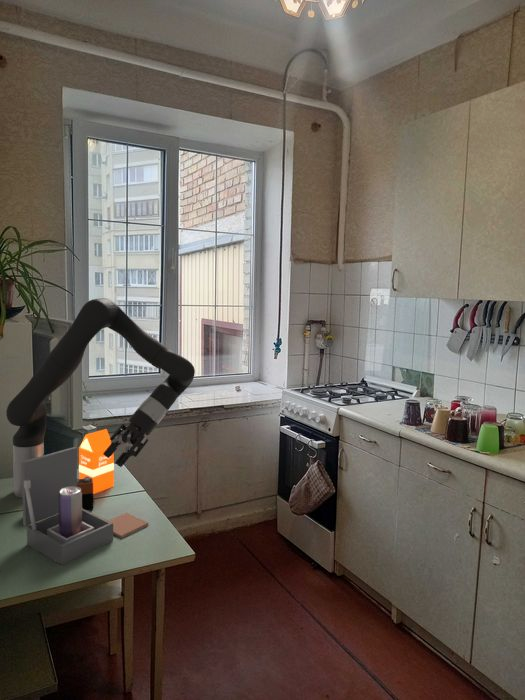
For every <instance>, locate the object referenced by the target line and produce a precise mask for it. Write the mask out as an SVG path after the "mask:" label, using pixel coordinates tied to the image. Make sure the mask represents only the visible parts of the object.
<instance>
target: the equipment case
mask: <svg viewBox="0 0 525 700" xmlns="http://www.w3.org/2000/svg"><path fill="white" fill-rule="evenodd" d="M77 449H78V448H77V447H76V446H73V447H69V448H65V449H62V450H58V451H55V452H52V453H48V454H47V453H46V454H44V456H40V457H36V458H33V459H29V460H26V461H22V494H23V498H22V524H23V526H25V527H26V541H27V542H26V543H27V545H28V546H30V547H32V548H33V549H35V550H37V551H38V552H39V553H41V554H43V555H45V556H46V557H48V558H50V559H51V560H53V561H54V562H56V563H58V564H59V565H61V566H63V565H65V564H67V563H69V562H71V561H73V560H75V559H76V558H79V557H81V556H83V555H85V554H87V553H89V552H92V551H93V550H95V549H98V548H100V547H102V546H104V545H107V544H108V543H110V542H112V541H114V534H113V523H112V522H110V521H108V520H107V519H106V518H103V517H101V516H99V515H97V514H95V513H93V512H92V511H90V510H85V509H83V508H82V532H80V533H78V534H75V535H73V536H71V537H69V538H65V537H63V536H61V535H60V534H59V491H60V490H61V489H63V488H66V487H72V486H74V487H77V479H78V456H77V455H78V450H77Z"/></svg>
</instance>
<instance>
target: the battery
mask: <svg viewBox="0 0 525 700" xmlns="http://www.w3.org/2000/svg"><path fill="white" fill-rule="evenodd" d="M77 487H79V488H81V492H82V508H83V509H85V510H87V511H92V510H93V509H94V494H93V479H92V478H90V477H84V479H79V478H77Z"/></svg>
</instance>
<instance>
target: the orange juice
mask: <svg viewBox="0 0 525 700" xmlns="http://www.w3.org/2000/svg"><path fill="white" fill-rule="evenodd" d="M110 438H111V436H110V434H109V432H108V429H107V428H105V429H101V430H97V431H95V432H94V431H93V432H91V433H86V434H85V436H84V438H83V439H82V442H81V444H80V445H79V447H78V475H79V476H78V479H84V477H90V478H92V479H93V495H94V494H97V493H99V492H103V491H104V490H107V489H110V488H113V487H114V485H115V476H114V473H115V471H114V470H115V458H114V457H115V456H114V454H115V452H114V453H113V454H112V455H111V457H110V458H107V457H106V456H105V455H104V454H103V453H104V452H105V450H106V449H107V448H108V447H109V446H110V444H111V440H110Z"/></svg>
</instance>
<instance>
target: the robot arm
mask: <svg viewBox="0 0 525 700" xmlns="http://www.w3.org/2000/svg"><path fill="white" fill-rule="evenodd" d="M105 328H108V329H110V330H111V331H114V332H116V333H117V334H118V335H120V336H121V337H122V338H123V339H125V340H126V342H127V343H128V345H130V346H131V348H132V349H133V350H134V352H135V353H136V354H138V356H140V357H141V358H142V359H143V360H145V361H146V362H147V363H149V364H150V365H152V367H154V368H156V369H158V370H162V371H164V372H165V373H166V374H168V376H167V377H166V378H165V380H164V381H163V382H162V383H160V384H158V386H156V387H155V389H154V390H153V391H152V392H151V393H150V395H149V396H148V397H147V398H146V399H145V400H144V401H143V402H142V403H140V405H139V406H138V408H137V409H136V410H135V411H134V412H133V414H132V415H131V416H130V418H129V419H128V422H129V424H128V426H127V425H126V424H125V423H123V424H121V425H120V426H119V427H118V428H117V430H115V431H114V433H113V434H112V435H111V436H110V440H111V444H110V446H109V447H108V448H107V449H106V450H105V452H104V453H103V454H104V455H105V456H106V457H107V458H110V457H111V455H112V454H113V453H114V454H115V452H116V450H117V449H118V448H119V447H121V446H124V445H125V449H124V451H123V452H122V453H121V454H120V456H119V457H118V458H117V459H116V460H115V461H114V464H115V465H116V466H118V467H119V468H122V467H123V466H124V465H125V464H126V462H128V460H129V458H132V457H137V456H138V455H139V453H140V452H141V451H142V450H143V448H144V447H145V446H146V444H147V443H148V442H149V439H148V438H147V437H146V436H149V435H151V434H152V432H153V431H154V430H155V428H156V427H157V426H158V425H159V423H160V422H161V421H162V419H163V418H164V417H165V415H166V414H167V412H168V411H169V410H170V409H171V407H172V406H173V405H174V404H175V402H176V401H177V399H178V398H179V397H180V395H182V393H184V392H185V391H186V390H187V389H188V388H189V386H190V385H191V384H192V383H193V380H194V378H195V373H196V370H195V367H194V365H193V363H191V362H190V360H188V359H187V358H185V357H183V356H182V355H180V354H178V353H176V352H174V351H173V350H170V348H168V346H165V345H164V343H161V342H160V341H159V340H158V339H156V338H155V337H153V336H152V335H151V334H149V333H148V332H147V331H145V330H144V329H143V328H142V327H140V325H138V324H137V323H136V321H134V320H133V319H132V318H131V317H130V316H129V315H128V314H127V313H126V312H125V311H124V310H123V309H122V308H121V307H120V306H119V305H118V304H117V303H116V302H115V301H114V300H112V299H110V298H107V297H106V298H105V297H100V298H93V299H91V300H88V301H87V302H86V303H84V304H83V305H82V308H80V311H79V312H78V314H77V316H76V317H75V319H74V321H73V323H72V324H71V326H70V327H69V329H68V330H67V331H66V333H65V334H64V335H63V336H62V338H60V340H59V341H58V343H57V344H56V345H55V346H54V347H53V349H52V350H51V351H50V352H49V354H48V355H47V356H46V358H45V359H44V361H43V362H42V363H41V365H40V366H39V367H38V369H37V370H36V372H35V373H34V374H33V376H32V377H31V379H30V380H29V381H28V383H26V385H25V386H24V387H23V388H22V389H21V390H20V391H19V392H18V394H16V396H15V397H14V398H13V399H11V401H10V402H9V404H8V405H7V408H6V412H5V413H6V418H7V420H8V422H9V424H11V425H13V426H16V427H19V428H18V429H17V431H16V432H15V433H14V435H13V436H12V453H13V464H12V477H13V479H12V480H13V493H14V496H15V497H17V498H22V499H23V494H22V461H26V460H29V459H33V458H36V457H40V456H44V455H45V446H44V438H45V435H46V431H47V413H48V410H47V405H46V402H45V400H46V398H48V397H49V395H51V394H53V392H54V391H56V390H57V389H58V388H60V387H61V386H62V385H63V384H64V383H66V381H68V380H69V378H70V377H71V376H72V375H73V374H74V372H75V371H76V370H77V368H78V367H79V366H80V364H81V362H82V360H83V358H84V355H85V350H86V349H87V346H88V344H90V342H91V341H92V340H93V338H95V336H96V335H97V334H98V333H99V332H100V331H101V330H102V329H105Z"/></svg>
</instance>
